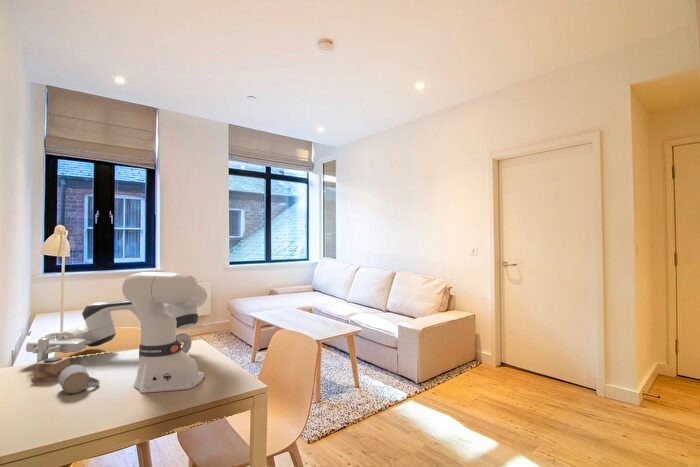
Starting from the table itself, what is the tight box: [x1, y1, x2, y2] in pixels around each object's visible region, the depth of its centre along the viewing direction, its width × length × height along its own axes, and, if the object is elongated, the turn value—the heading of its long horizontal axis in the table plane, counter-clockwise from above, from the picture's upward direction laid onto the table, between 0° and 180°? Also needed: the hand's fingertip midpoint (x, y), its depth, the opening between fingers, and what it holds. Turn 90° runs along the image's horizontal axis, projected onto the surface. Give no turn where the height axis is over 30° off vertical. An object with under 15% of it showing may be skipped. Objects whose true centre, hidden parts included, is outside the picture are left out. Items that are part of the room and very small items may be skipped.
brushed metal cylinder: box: [36, 338, 49, 363], centre depth 134 cm, size 3×3×10 cm
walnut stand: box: [31, 356, 71, 382], centre depth 126 cm, size 8×8×6 cm
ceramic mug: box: [58, 364, 101, 395], centre depth 116 cm, size 11×8×8 cm
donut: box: [176, 333, 192, 354], centre depth 151 cm, size 10×4×10 cm, turn 153°
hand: (40, 351), depth 133 cm, fingers closed on brushed metal cylinder, 3 cm apart
